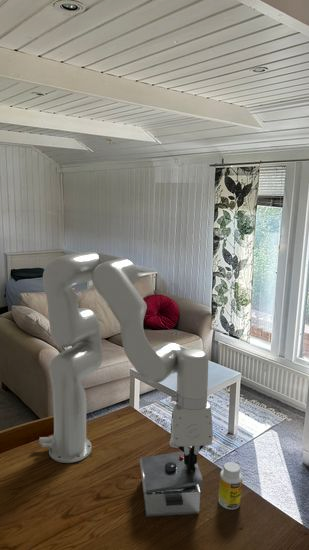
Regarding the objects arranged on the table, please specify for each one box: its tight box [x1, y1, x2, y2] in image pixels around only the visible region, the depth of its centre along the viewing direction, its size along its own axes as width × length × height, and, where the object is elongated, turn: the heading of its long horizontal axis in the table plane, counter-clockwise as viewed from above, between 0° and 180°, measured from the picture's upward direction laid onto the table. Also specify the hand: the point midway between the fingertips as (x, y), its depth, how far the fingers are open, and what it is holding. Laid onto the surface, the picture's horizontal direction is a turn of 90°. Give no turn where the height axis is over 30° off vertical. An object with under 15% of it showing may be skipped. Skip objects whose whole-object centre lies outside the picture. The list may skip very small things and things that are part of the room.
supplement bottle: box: [218, 461, 243, 510], centre depth 104 cm, size 6×6×10 cm
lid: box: [139, 450, 204, 495], centre depth 105 cm, size 15×13×2 cm
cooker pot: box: [141, 481, 201, 518], centre depth 106 cm, size 13×16×6 cm
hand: (190, 465), depth 105 cm, fingers closed
